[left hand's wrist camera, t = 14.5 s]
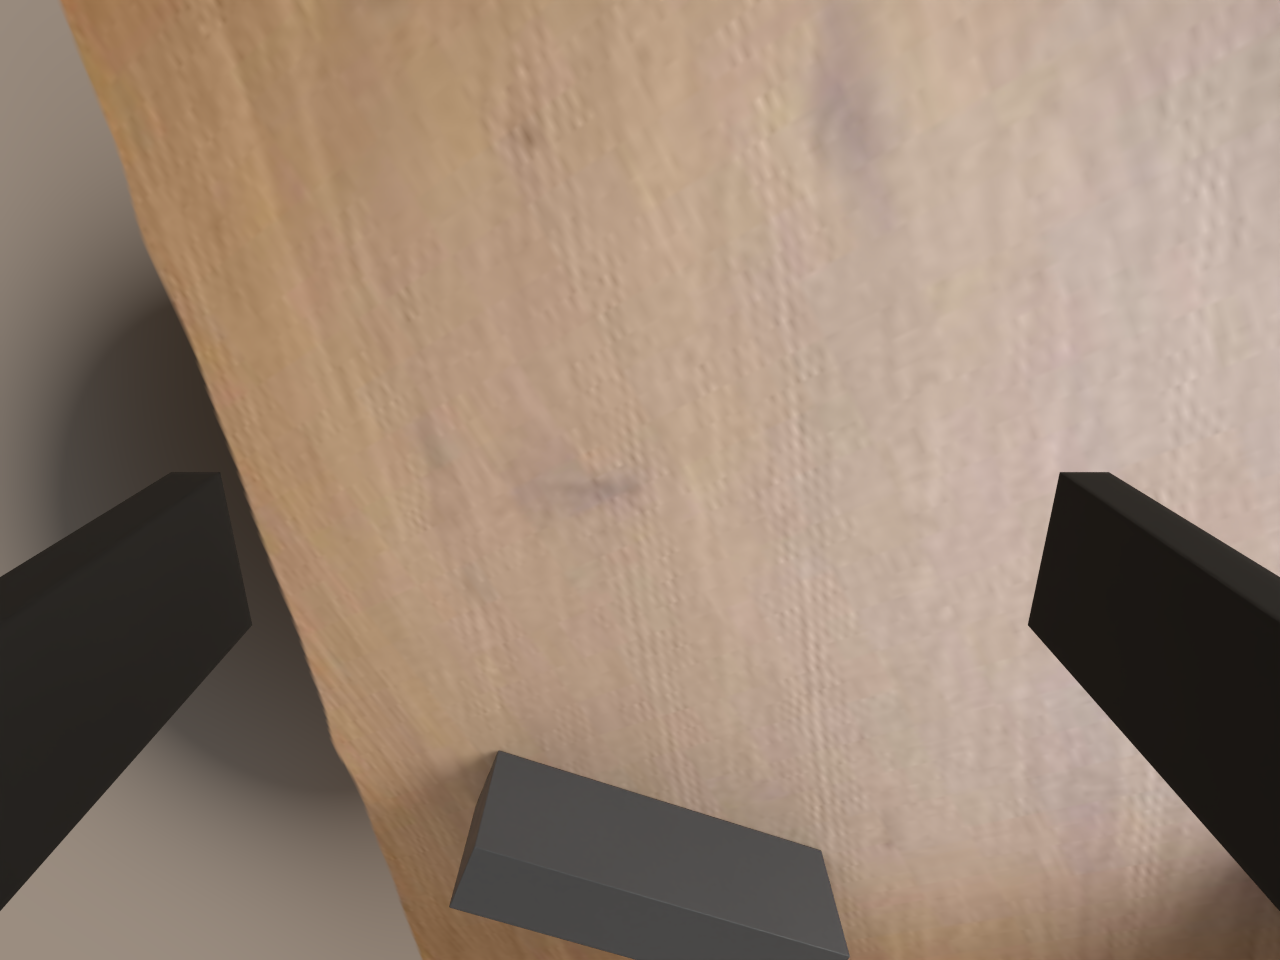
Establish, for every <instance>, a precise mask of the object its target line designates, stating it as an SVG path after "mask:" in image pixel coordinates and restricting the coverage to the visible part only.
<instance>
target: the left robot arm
mask: <svg viewBox="0 0 1280 960" xmlns="http://www.w3.org/2000/svg"><path fill="white" fill-rule="evenodd" d="M251 626H252V622H251V617H250V613H249V608H248V603H247V598H246V594H245V589H244V584H243V579H242V574H241V570H240V565H239V560H238V555H237V551H236V546H235V541H234V536H233V532H232V527H231V522H230V517H229V512H228V508H227V503H226V498H225V493H224V489H223V484H222V479H221V474H220V472H171V473H169V474H168V475H166V476H164V477H163V478H161V479H159V480H158V481H156V482H155V483H153V484H151V485H150V486H148V487H146V488H145V489H143V490H141V491H140V492H138V493H137V494H135V495H133V496H132V497H130V498H129V499H127V500H125V501H124V502H122V503H120V504H119V505H117V506H116V507H114V508H112V509H111V510H109V511H107V512H106V513H104V514H102V515H101V516H99V517H97V518H96V519H94V520H93V521H91V522H89V523H88V524H86V525H84V526H83V527H81V528H80V529H78V530H76V531H75V532H73V533H71V534H70V535H68V536H67V537H65V538H63V539H62V540H60V541H58V542H57V543H55V544H54V545H52V546H50V547H49V548H47V549H45V550H44V551H42V552H40V553H39V554H37V555H36V556H34V557H32V558H31V559H29V560H27V561H26V562H24V563H23V564H21V565H19V566H18V567H16V568H14V569H13V570H11V571H10V572H8V573H6V574H5V575H3V576H1V577H0V911H1V910H2V908H3V907H4V906H5V905H6V904H7V903H8V902H9V900H10V899H11V898H12V897H13V896H14V895H15V894H16V892H17V891H18V890H19V889H20V888H21V887H22V886H23V885H24V883H25V882H26V881H27V880H28V879H29V878H30V877H31V875H32V874H33V873H34V872H35V871H36V870H37V869H38V867H39V866H40V865H41V864H42V863H43V862H44V861H45V860H46V858H47V857H48V856H49V855H50V854H51V853H52V852H53V850H54V849H55V848H56V847H57V846H58V845H59V844H60V842H61V841H62V840H63V839H64V838H65V837H66V836H67V835H68V833H69V832H70V831H71V830H72V829H73V828H74V827H75V825H76V824H77V823H78V822H79V821H80V820H81V819H82V818H83V816H84V815H85V814H86V813H87V812H88V811H89V810H90V808H91V807H92V806H93V805H94V804H95V803H96V802H97V800H98V799H99V798H100V797H101V796H102V795H103V794H104V793H105V791H106V790H107V789H108V788H109V787H110V786H111V785H112V783H113V782H114V781H115V780H116V779H117V778H118V777H119V776H120V774H121V773H122V772H123V771H124V770H125V769H126V768H127V766H128V765H129V764H130V763H131V762H132V761H133V760H134V758H135V757H136V756H137V755H138V754H139V753H140V752H141V751H142V749H143V748H144V747H145V746H146V745H147V744H148V743H149V741H150V740H151V739H152V738H153V737H154V736H155V735H156V734H157V732H158V731H159V730H160V729H161V728H162V727H163V726H164V724H165V723H166V722H167V721H168V720H169V719H170V718H171V716H172V715H173V714H174V713H175V712H176V711H177V710H178V709H179V707H180V706H181V705H182V704H183V703H184V702H185V701H186V699H187V698H188V697H189V696H190V695H191V694H192V693H193V692H194V690H195V689H196V688H197V687H198V686H199V685H200V684H201V682H202V681H203V680H204V679H205V678H206V677H207V676H208V675H209V673H210V672H211V671H212V670H213V669H214V668H215V667H216V665H217V664H218V663H219V662H220V661H221V660H222V659H223V657H224V656H225V655H226V654H227V653H228V652H229V651H230V650H231V648H232V647H233V646H234V645H235V644H236V643H237V642H238V640H239V639H240V638H241V637H242V636H243V635H244V634H245V633H246V631H247V630H248V629H249V628H250V627H251ZM1028 626H1029V627H1030V628H1031V629H1032V630H1033V631H1034V633H1035V634H1036V635H1037V636H1038V637H1039V638H1040V639H1041V640H1042V642H1043V643H1044V644H1045V645H1046V646H1047V647H1048V648H1049V650H1050V651H1051V652H1052V653H1053V654H1054V655H1055V656H1056V657H1057V659H1058V660H1059V661H1060V662H1061V663H1062V664H1063V665H1064V667H1065V668H1066V669H1067V670H1068V671H1069V672H1070V673H1071V675H1072V676H1073V677H1074V678H1075V679H1076V680H1077V681H1078V682H1079V684H1080V685H1081V686H1082V687H1083V688H1084V689H1085V690H1086V692H1087V693H1088V694H1089V695H1090V696H1091V697H1092V698H1093V699H1094V701H1095V702H1096V703H1097V704H1098V705H1099V706H1100V707H1101V709H1102V710H1103V711H1104V712H1105V713H1106V714H1107V715H1108V717H1109V718H1110V719H1111V720H1112V721H1113V722H1114V723H1115V724H1116V726H1117V727H1118V728H1119V729H1120V730H1121V731H1122V732H1123V734H1124V735H1125V736H1126V737H1127V738H1128V739H1129V740H1130V741H1131V743H1132V744H1133V745H1134V746H1135V747H1136V748H1137V749H1138V751H1139V752H1140V753H1141V754H1142V755H1143V756H1144V757H1145V759H1146V760H1147V761H1148V762H1149V763H1150V764H1151V765H1152V766H1153V768H1154V769H1155V770H1156V771H1157V772H1158V773H1159V774H1160V776H1161V777H1162V778H1163V779H1164V780H1165V781H1166V782H1167V783H1168V785H1169V786H1170V787H1171V788H1172V789H1173V790H1174V791H1175V793H1176V794H1177V795H1178V796H1179V797H1180V798H1181V799H1182V801H1183V802H1184V803H1185V804H1186V805H1187V806H1188V807H1189V808H1190V810H1191V811H1192V812H1193V813H1194V814H1195V815H1196V816H1197V818H1198V819H1199V820H1200V821H1201V822H1202V823H1203V824H1204V826H1205V827H1206V828H1207V829H1208V830H1209V831H1210V832H1211V833H1212V835H1213V836H1214V837H1215V838H1216V839H1217V840H1218V841H1219V843H1220V844H1221V845H1222V846H1223V847H1224V848H1225V849H1226V850H1227V852H1228V853H1229V854H1230V855H1231V856H1232V857H1233V858H1234V860H1235V861H1236V862H1237V863H1238V864H1239V865H1240V866H1241V868H1242V869H1243V870H1244V871H1245V872H1246V873H1247V874H1248V875H1249V877H1250V878H1251V879H1252V880H1253V881H1254V882H1255V883H1256V885H1257V886H1258V887H1259V888H1260V889H1261V890H1262V891H1263V892H1264V894H1265V895H1266V896H1267V897H1268V898H1269V899H1270V900H1271V902H1272V903H1273V904H1274V905H1275V906H1276V907H1277V908H1278V910H1279V911H1280V577H1279V576H1277V575H1275V574H1274V573H1272V572H1271V571H1269V570H1267V569H1266V568H1264V567H1262V566H1261V565H1259V564H1257V563H1256V562H1254V561H1253V560H1251V559H1249V558H1248V557H1246V556H1244V555H1243V554H1241V553H1240V552H1238V551H1236V550H1235V549H1233V548H1231V547H1230V546H1228V545H1227V544H1225V543H1223V542H1222V541H1220V540H1218V539H1217V538H1215V537H1213V536H1212V535H1210V534H1209V533H1207V532H1205V531H1204V530H1202V529H1200V528H1199V527H1197V526H1196V525H1194V524H1192V523H1191V522H1189V521H1187V520H1186V519H1184V518H1183V517H1181V516H1179V515H1178V514H1176V513H1174V512H1173V511H1171V510H1169V509H1168V508H1166V507H1165V506H1163V505H1161V504H1160V503H1158V502H1156V501H1155V500H1153V499H1152V498H1150V497H1148V496H1147V495H1145V494H1143V493H1142V492H1140V491H1138V490H1137V489H1135V488H1134V487H1132V486H1130V485H1129V484H1127V483H1125V482H1124V481H1122V480H1121V479H1119V478H1117V477H1116V476H1114V475H1112V474H1111V473H1109V472H1060V474H1059V479H1058V484H1057V488H1056V493H1055V498H1054V503H1053V508H1052V512H1051V517H1050V522H1049V527H1048V531H1047V536H1046V541H1045V546H1044V551H1043V555H1042V560H1041V565H1040V570H1039V574H1038V579H1037V584H1036V589H1035V594H1034V598H1033V603H1032V608H1031V613H1030V617H1029V622H1028Z"/></svg>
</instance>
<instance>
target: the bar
mask: <svg viewBox="0 0 1280 960" xmlns="http://www.w3.org/2000/svg"><path fill="white" fill-rule="evenodd" d="M449 907H450V908H453V909H457V910H460V911H464V912H467V913H471V914H475V915H478V916H482V917H485V918H489V919H492V920H496V921H500V922H503V923H507V924H510V925H514V926H517V927H521V928H525V929H528V930H532V931H535V932H539V933H542V934H546V935H550V936H553V937H557V938H560V939H564V940H567V941H571V942H575V943H578V944H582V945H585V946H589V947H592V948H596V949H600V950H603V951H607V952H610V953H614V954H617V955H621V956H625V957H628V958H632V959H635V960H848V959H849V957H850V955H849V952H848V948H847V944H846V941H845V937H844V933H843V929H842V926H841V922H840V918H839V915H838V911H837V907H836V904H835V900H834V896H833V893H832V889H831V885H830V881H829V878H828V874H827V870H826V867H825V863H824V859H823V856H822V852H821V850H817V849H814V848H811V847H808V846H804V845H801V844H798V843H795V842H792V841H788V840H785V839H782V838H779V837H775V836H772V835H769V834H766V833H763V832H759V831H756V830H753V829H750V828H747V827H743V826H740V825H737V824H734V823H730V822H727V821H724V820H721V819H718V818H714V817H711V816H708V815H705V814H701V813H698V812H695V811H692V810H689V809H685V808H682V807H679V806H676V805H672V804H669V803H666V802H663V801H660V800H656V799H653V798H650V797H647V796H644V795H640V794H637V793H634V792H631V791H627V790H624V789H621V788H618V787H615V786H611V785H608V784H605V783H602V782H598V781H595V780H592V779H589V778H586V777H582V776H579V775H576V774H573V773H569V772H566V771H563V770H560V769H557V768H553V767H550V766H547V765H544V764H541V763H537V762H534V761H531V760H528V759H524V758H521V757H518V756H515V755H512V754H508V753H505V752H502V751H498V753H497V755H496V758H495V760H494V763H493V765H492V768H491V770H490V772H489V775H488V777H487V780H486V782H485V785H484V787H483V790H482V792H481V795H480V797H479V799H478V802H477V804H476V807H475V811H474V815H473V819H472V823H471V826H470V830H469V834H468V838H467V842H466V845H465V849H464V853H463V857H462V860H461V864H460V868H459V872H458V876H457V879H456V883H455V887H454V891H453V895H452V898H451V902H450V906H449Z"/></svg>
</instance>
